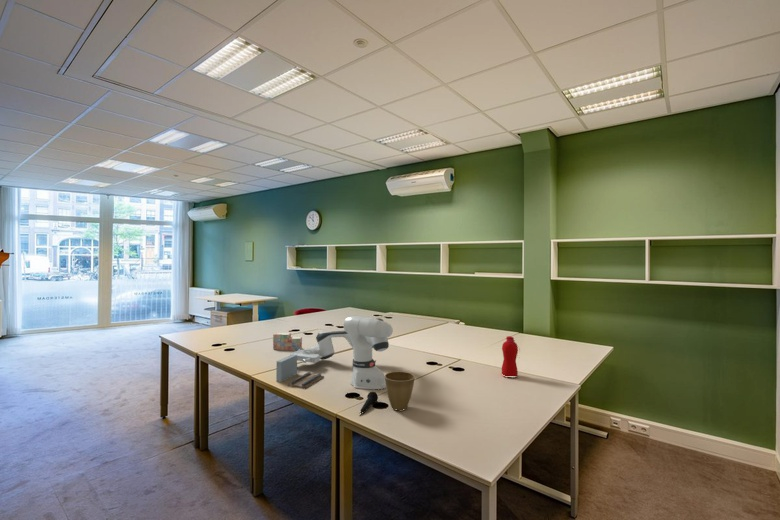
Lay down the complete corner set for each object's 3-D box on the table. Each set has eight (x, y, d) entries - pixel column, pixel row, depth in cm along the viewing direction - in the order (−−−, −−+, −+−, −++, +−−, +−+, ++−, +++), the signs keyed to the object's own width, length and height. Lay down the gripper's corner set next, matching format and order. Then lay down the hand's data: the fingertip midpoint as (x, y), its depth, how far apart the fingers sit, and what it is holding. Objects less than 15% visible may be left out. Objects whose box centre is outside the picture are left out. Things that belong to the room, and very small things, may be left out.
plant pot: (418, 412, 176) (419, 379, 176) (389, 415, 172) (389, 382, 172) (408, 400, 191) (408, 369, 190) (380, 403, 187) (381, 372, 186)
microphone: (363, 422, 172) (377, 401, 191) (366, 412, 171) (380, 392, 189) (353, 417, 173) (368, 397, 192) (356, 407, 172) (371, 387, 191)
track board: (323, 377, 224) (323, 373, 224) (305, 388, 205) (305, 384, 205) (306, 375, 228) (306, 371, 228) (287, 385, 209) (287, 381, 209)
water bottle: (521, 379, 225) (521, 339, 224) (502, 378, 227) (503, 337, 226) (518, 374, 234) (519, 335, 233) (501, 373, 236) (501, 334, 235)
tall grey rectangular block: (297, 373, 231) (297, 354, 230) (281, 382, 216) (281, 361, 215) (292, 373, 232) (292, 354, 232) (276, 381, 217) (276, 361, 217)
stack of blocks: (302, 348, 292) (302, 333, 291) (299, 350, 285) (299, 334, 285) (275, 347, 293) (276, 332, 293) (272, 349, 287) (272, 334, 287)
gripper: (323, 361, 245) (312, 367, 232) (297, 358, 252) (284, 363, 239) (323, 351, 245) (312, 357, 232) (297, 348, 252) (284, 354, 239)
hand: (298, 360), depth 235 cm, fingers open, 8 cm apart
